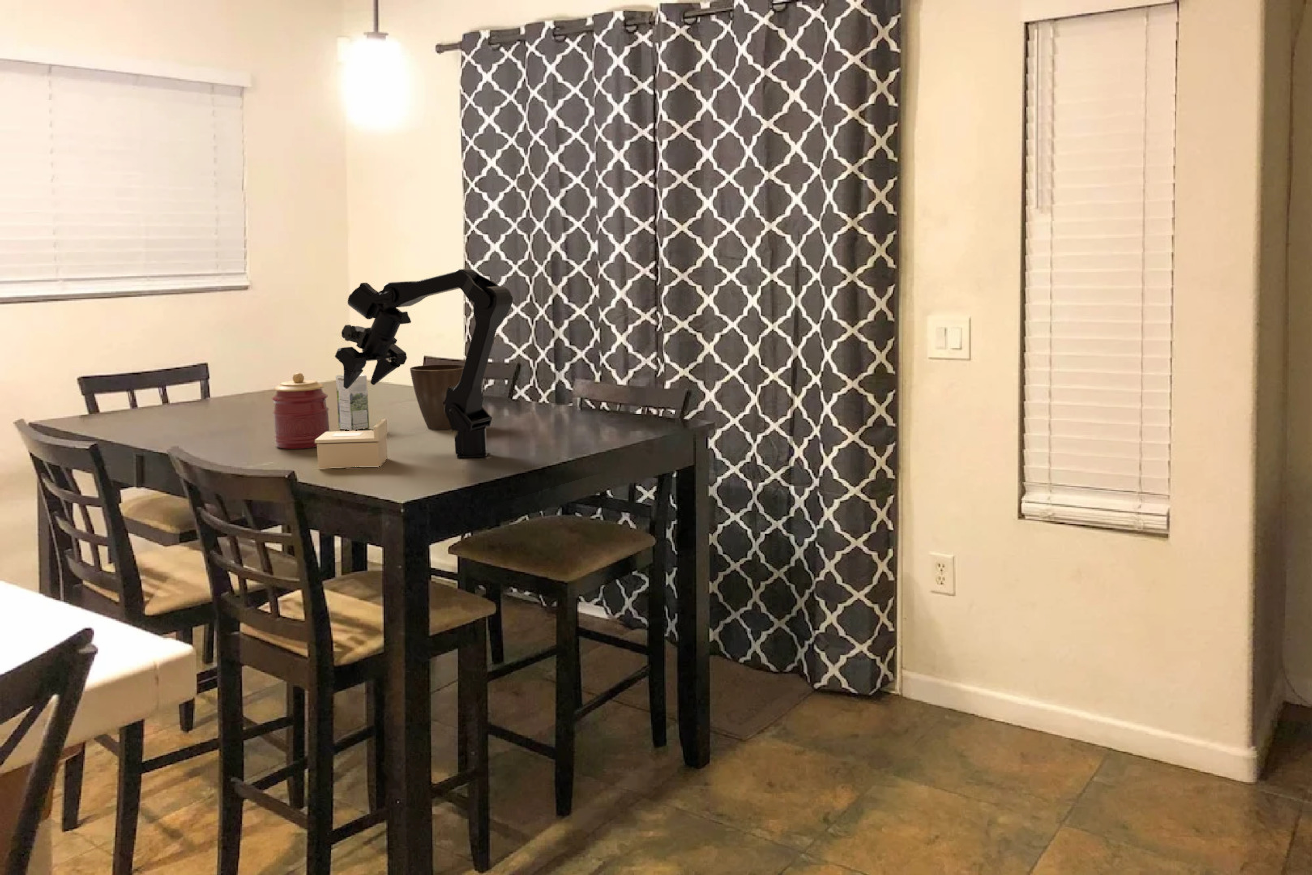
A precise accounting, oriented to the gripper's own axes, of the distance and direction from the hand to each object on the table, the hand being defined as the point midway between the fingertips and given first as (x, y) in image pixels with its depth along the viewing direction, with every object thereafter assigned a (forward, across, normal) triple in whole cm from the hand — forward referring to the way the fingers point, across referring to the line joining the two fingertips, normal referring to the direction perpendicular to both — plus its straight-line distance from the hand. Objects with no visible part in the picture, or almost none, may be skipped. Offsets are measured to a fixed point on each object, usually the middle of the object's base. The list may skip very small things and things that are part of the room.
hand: (359, 385), depth 260 cm
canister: (+22, +2, -6) cm, 23 cm away
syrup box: (+23, -20, -10) cm, 32 cm away
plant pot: (+12, -31, +8) cm, 34 cm away
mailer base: (+7, +16, +18) cm, 25 cm away
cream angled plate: (+2, +16, +15) cm, 22 cm away
